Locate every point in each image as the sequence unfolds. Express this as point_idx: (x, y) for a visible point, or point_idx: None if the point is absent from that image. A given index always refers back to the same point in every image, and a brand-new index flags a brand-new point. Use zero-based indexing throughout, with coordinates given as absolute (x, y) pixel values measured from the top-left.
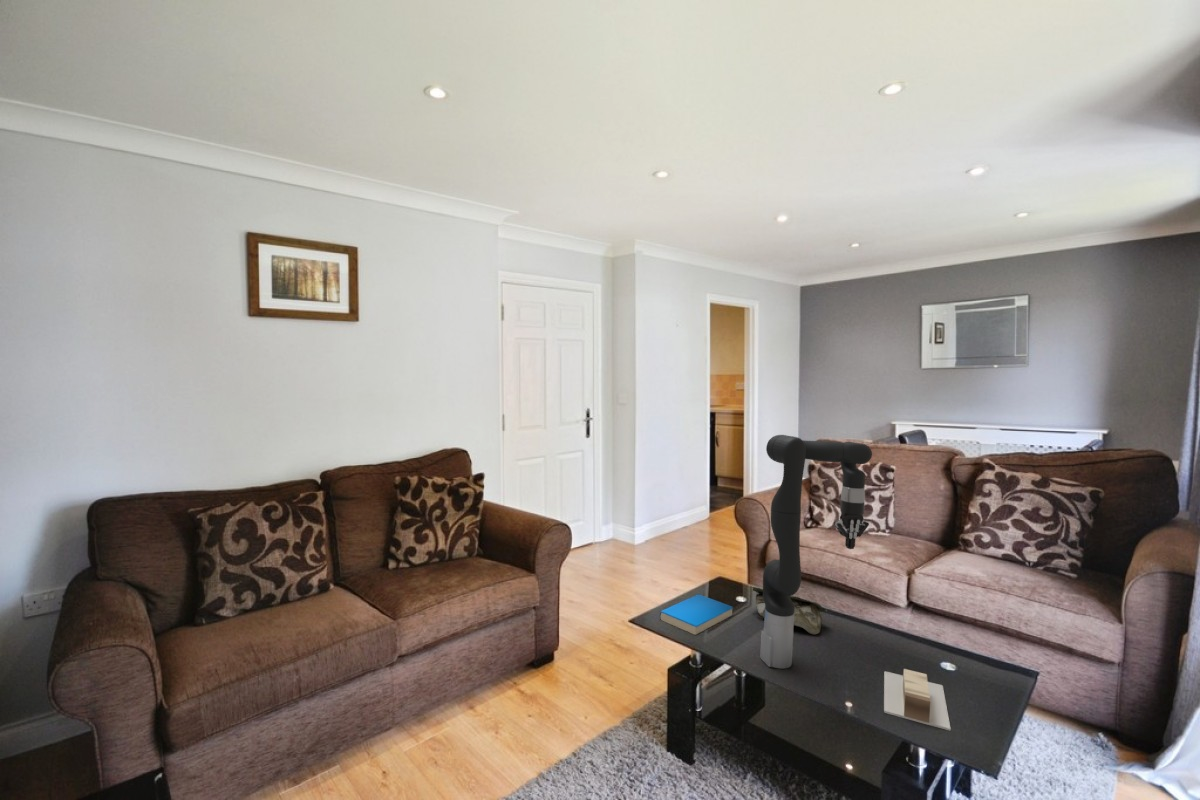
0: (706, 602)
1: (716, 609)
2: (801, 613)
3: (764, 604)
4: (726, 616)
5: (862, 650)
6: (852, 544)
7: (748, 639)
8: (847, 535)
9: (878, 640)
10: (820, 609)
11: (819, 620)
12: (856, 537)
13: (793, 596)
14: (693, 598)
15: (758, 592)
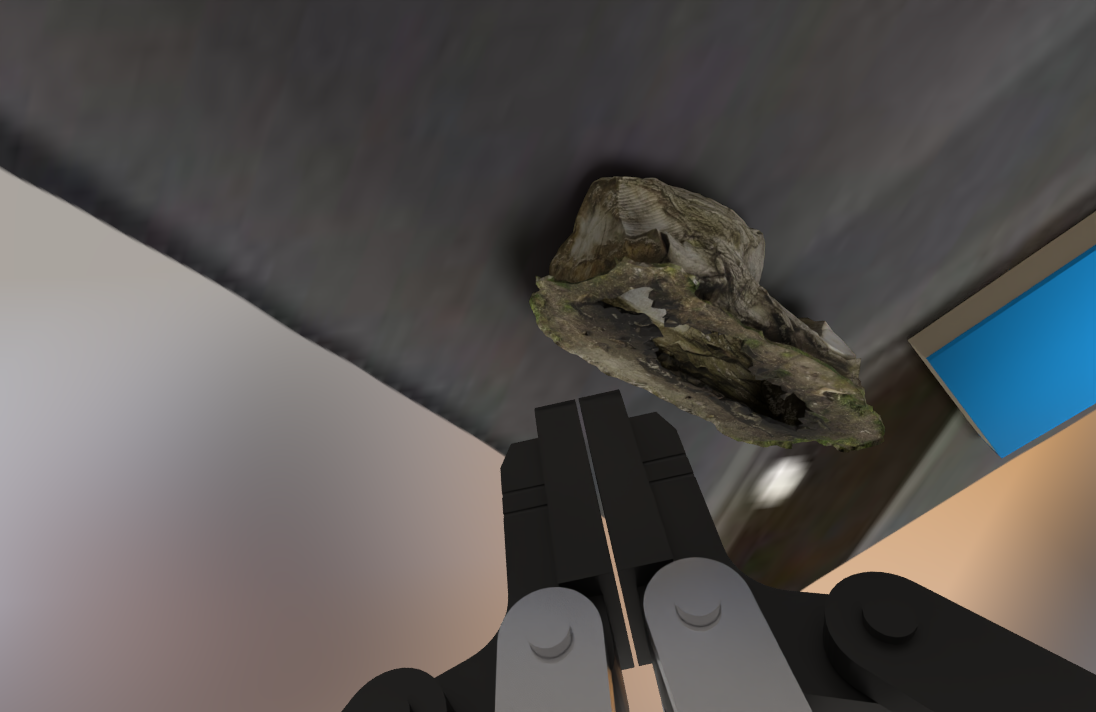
0: (1023, 389)
1: (1026, 327)
2: (705, 240)
3: (832, 344)
4: (956, 314)
5: (415, 2)
6: (587, 458)
7: (986, 100)
8: (847, 629)
9: (274, 139)
10: (559, 309)
11: (583, 239)
12: (500, 628)
13: (752, 329)
14: (1052, 418)
15: (817, 439)
